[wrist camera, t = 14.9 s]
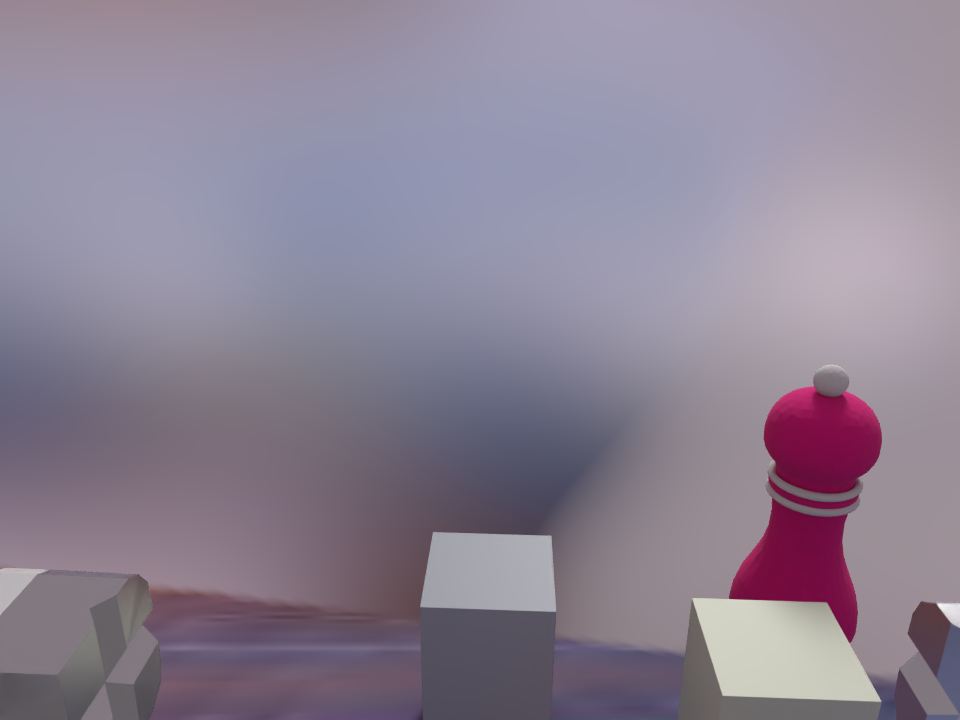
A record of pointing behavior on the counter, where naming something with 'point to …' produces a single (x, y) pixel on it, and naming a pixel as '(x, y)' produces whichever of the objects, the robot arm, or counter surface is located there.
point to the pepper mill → (812, 496)
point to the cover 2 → (771, 664)
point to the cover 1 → (488, 627)
